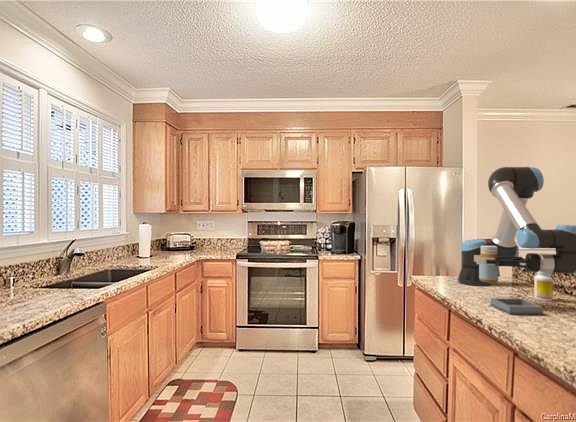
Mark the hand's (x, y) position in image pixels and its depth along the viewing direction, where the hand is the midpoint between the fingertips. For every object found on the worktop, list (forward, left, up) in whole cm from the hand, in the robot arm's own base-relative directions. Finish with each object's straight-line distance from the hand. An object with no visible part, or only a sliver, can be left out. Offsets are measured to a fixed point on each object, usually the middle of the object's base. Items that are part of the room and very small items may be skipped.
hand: (475, 259), depth 151 cm
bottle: (+2, +5, -9) cm, 10 cm away
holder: (+14, +9, -18) cm, 24 cm away
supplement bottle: (-3, +32, -18) cm, 37 cm away
